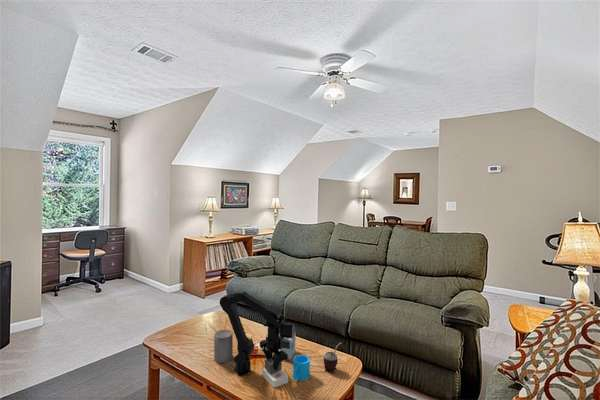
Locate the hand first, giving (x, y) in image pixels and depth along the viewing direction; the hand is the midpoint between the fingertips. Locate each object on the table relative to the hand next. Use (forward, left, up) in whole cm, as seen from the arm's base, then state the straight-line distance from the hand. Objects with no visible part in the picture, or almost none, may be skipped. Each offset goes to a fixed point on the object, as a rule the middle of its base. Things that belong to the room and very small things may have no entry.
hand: (272, 367), depth 153 cm
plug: (0, 0, -3) cm, 3 cm away
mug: (+11, -7, -5) cm, 14 cm away
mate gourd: (+28, -10, -5) cm, 30 cm away
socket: (0, -2, -4) cm, 5 cm away
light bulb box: (+17, +15, -5) cm, 23 cm away
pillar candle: (-15, +29, -5) cm, 33 cm away
